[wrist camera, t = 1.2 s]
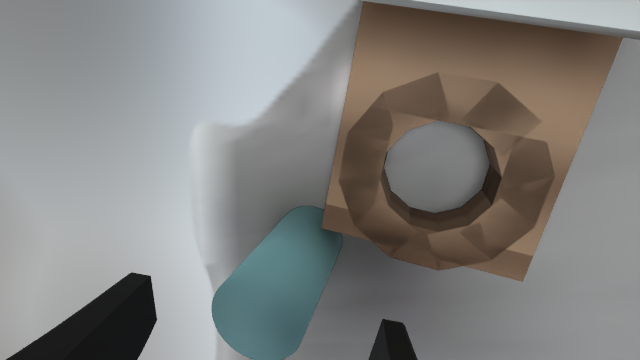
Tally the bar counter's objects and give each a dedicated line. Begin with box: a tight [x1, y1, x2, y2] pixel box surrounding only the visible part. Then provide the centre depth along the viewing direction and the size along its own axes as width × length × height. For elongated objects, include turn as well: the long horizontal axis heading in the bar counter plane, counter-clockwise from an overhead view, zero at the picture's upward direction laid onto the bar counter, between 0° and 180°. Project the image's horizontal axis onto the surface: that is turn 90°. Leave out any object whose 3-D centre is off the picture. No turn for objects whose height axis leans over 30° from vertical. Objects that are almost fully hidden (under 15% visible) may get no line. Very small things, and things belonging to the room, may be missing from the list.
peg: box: [212, 206, 342, 360], centre depth 18 cm, size 4×4×8 cm
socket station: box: [321, 0, 640, 282], centre depth 13 cm, size 16×10×9 cm, turn 170°
